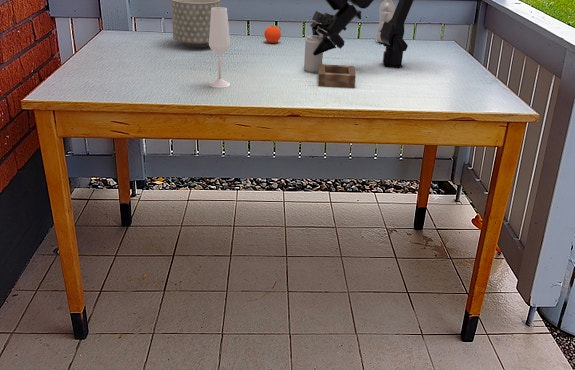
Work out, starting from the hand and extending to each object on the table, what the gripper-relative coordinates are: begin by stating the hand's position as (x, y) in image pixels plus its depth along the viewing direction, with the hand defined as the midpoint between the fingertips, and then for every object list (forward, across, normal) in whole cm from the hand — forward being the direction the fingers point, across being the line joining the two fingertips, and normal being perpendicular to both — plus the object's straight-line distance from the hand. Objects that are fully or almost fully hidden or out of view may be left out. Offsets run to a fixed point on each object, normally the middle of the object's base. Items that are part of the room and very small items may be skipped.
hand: (310, 52), depth 202 cm
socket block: (+2, +14, +8) cm, 16 cm away
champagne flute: (+29, +8, -20) cm, 36 cm away
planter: (+27, -44, -17) cm, 54 cm away
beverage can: (+4, 0, +6) cm, 7 cm away
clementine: (+4, -43, +6) cm, 43 cm away
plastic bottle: (-29, -33, +39) cm, 59 cm away
